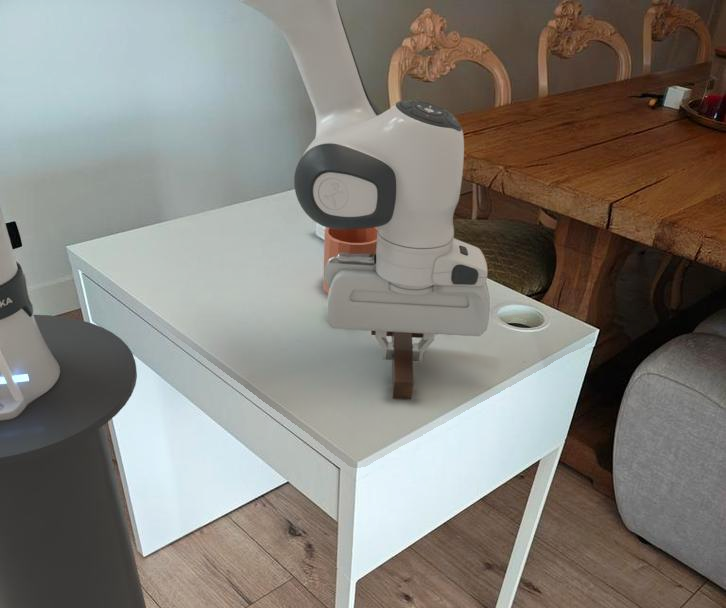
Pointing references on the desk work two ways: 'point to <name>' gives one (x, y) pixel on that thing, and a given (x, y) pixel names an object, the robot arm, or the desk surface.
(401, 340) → the brown t-shaped block
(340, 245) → the mug
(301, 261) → the desk surface
